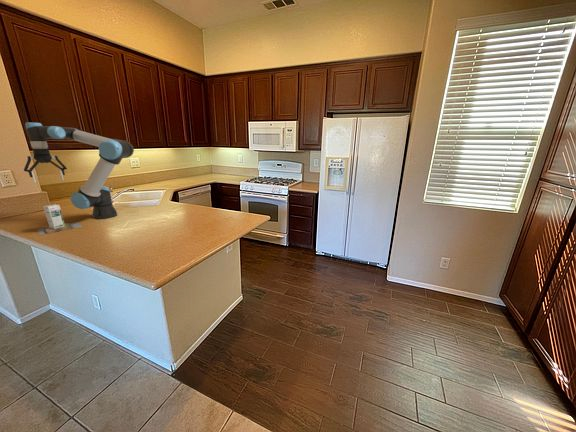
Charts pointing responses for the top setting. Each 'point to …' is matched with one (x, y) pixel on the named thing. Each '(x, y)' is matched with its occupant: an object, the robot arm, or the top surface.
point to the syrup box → (54, 216)
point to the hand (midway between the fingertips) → (49, 181)
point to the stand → (50, 230)
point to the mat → (74, 225)
